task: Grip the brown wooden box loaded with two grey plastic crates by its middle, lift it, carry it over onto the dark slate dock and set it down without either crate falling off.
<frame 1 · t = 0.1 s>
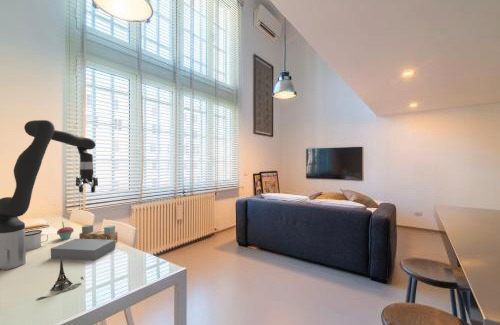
hand: (87, 192, 155), 29 cm above the table, tool pointing down, fingers open, 8 cm apart
mug: (34, 247, 135), on the table
dock: (84, 253, 125), on the table
eiffel tower figurine: (61, 289, 92), on the table
crate a: (87, 232, 142), point 6 cm above the table, touching brown wooden box
brown wooden box: (98, 243, 141), on the table, touching crate a
crate b: (109, 233, 140), point 6 cm above the table
cupcake: (65, 238, 150), on the table
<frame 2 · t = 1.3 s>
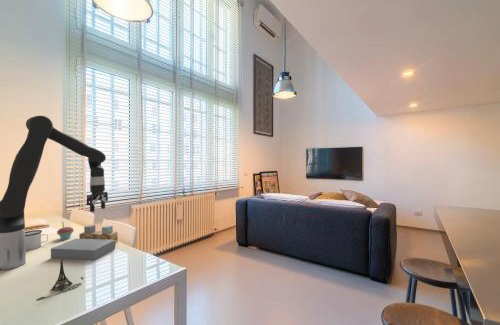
hand: (97, 210, 141), 20 cm above the table, tool pointing down, fingers open, 8 cm apart
crate a: (89, 232, 142), point 6 cm above the table, touching brown wooden box
crate b: (107, 233, 140), point 6 cm above the table
everything else where it was.
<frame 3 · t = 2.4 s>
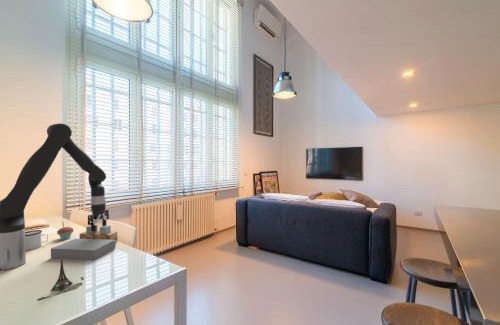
hand: (99, 228, 141), 8 cm above the table, tool pointing down, fingers open, 8 cm apart
crate a: (92, 232, 142), point 6 cm above the table, touching brown wooden box
brown wooden box: (98, 243, 141), on the table, touching crate a, crate b
crate b: (105, 233, 141), point 6 cm above the table, touching brown wooden box
everything else where it was.
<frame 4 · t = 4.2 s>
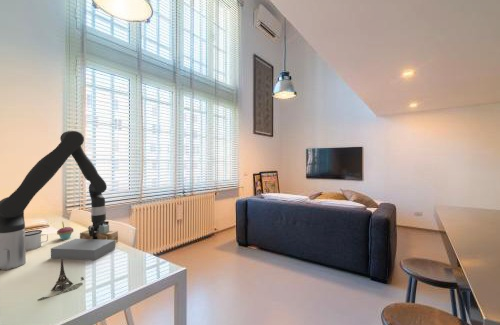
hand: (99, 240, 142), 1 cm above the table, tool pointing down, fingers closed on brown wooden box, 5 cm apart
crate a: (94, 231, 142), point 6 cm above the table, touching brown wooden box
brown wooden box: (99, 242, 142), on the table, touching crate a, crate b, gripper
crate b: (103, 232, 141), point 6 cm above the table, touching brown wooden box
everything else where it was.
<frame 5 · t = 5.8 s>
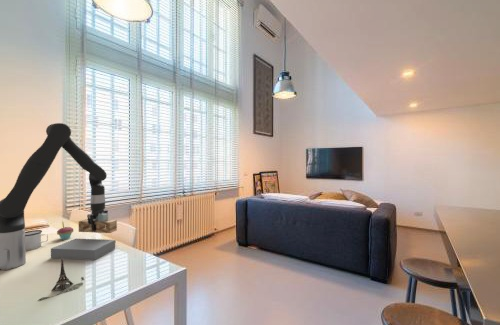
hand: (98, 229, 141), 8 cm above the table, tool pointing down, fingers closed on brown wooden box, 5 cm apart
crate a: (93, 220, 142), point 14 cm above the table, touching brown wooden box
brown wooden box: (97, 231, 141), point 7 cm above the table, touching crate a, crate b, gripper
crate b: (102, 220, 141), point 14 cm above the table, touching brown wooden box
everything else where it was.
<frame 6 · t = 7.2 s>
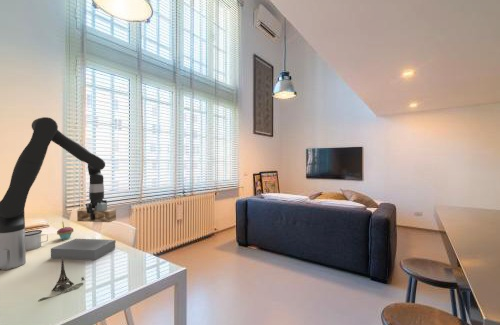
hand: (96, 218, 140), 15 cm above the table, tool pointing down, fingers closed on brown wooden box, 5 cm apart
crate a: (92, 209, 140), point 20 cm above the table, touching brown wooden box
brown wooden box: (96, 220, 140), point 14 cm above the table, touching crate a, crate b, gripper
crate b: (101, 210, 139), point 20 cm above the table, touching brown wooden box
everything else where it was.
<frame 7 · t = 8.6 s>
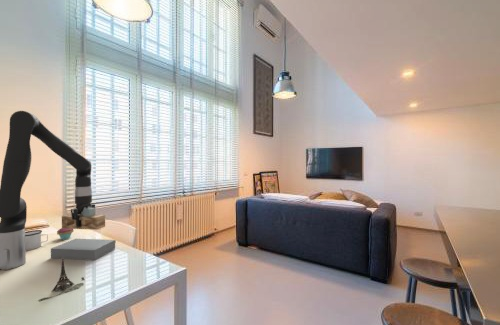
hand: (83, 225, 125), 15 cm above the table, tool pointing down, fingers closed on brown wooden box, 5 cm apart
crate a: (78, 215, 126), point 21 cm above the table, touching brown wooden box
brown wooden box: (83, 227, 125), point 14 cm above the table, touching crate a, crate b, gripper
crate b: (89, 215, 125), point 21 cm above the table, touching brown wooden box
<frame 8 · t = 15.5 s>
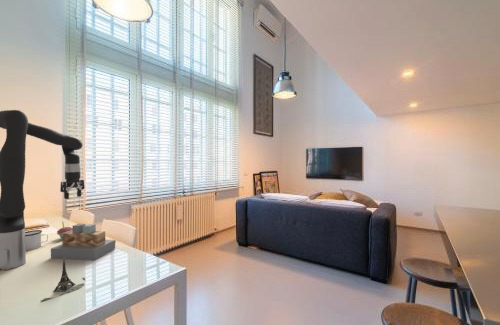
hand: (73, 197, 140), 28 cm above the table, tool pointing down, fingers open, 8 cm apart
crate a: (79, 232, 126), point 11 cm above the table, touching brown wooden box
brown wooden box: (84, 244, 125), point 5 cm above the table, touching crate a, crate b, dock
crate b: (89, 232, 125), point 11 cm above the table, touching brown wooden box
at the end: brown wooden box inside the target area on the dock (0.1 cm from its centre), point 5.0 cm above the dock's base; crate a point 11.5 cm above the table; crate b point 11.5 cm above the table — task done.
